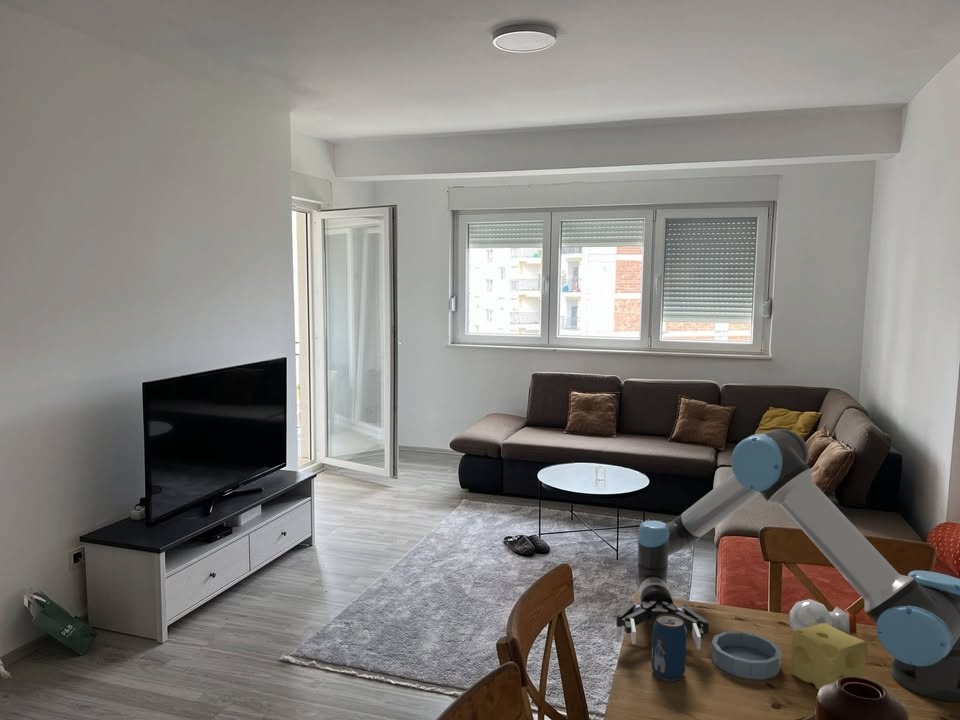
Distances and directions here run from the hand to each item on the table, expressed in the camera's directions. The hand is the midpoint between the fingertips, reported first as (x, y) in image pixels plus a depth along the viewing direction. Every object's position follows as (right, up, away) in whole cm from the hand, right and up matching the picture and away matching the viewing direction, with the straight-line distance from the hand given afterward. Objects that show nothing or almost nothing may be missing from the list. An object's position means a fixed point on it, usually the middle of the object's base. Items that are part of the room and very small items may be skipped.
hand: (666, 640), depth 153 cm
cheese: (+33, -8, -2) cm, 34 cm away
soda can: (0, -7, 0) cm, 7 cm away
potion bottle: (+41, -6, +17) cm, 45 cm away
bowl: (+19, -7, +5) cm, 20 cm away
